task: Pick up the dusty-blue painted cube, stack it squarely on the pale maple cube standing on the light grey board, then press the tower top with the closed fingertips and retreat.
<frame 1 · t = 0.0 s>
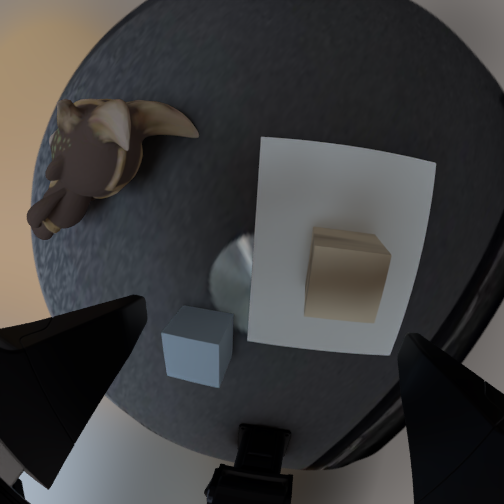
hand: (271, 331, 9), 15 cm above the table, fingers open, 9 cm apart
maple block: (339, 260, 22), resting on board
toy: (121, 160, 24), on the table
board: (339, 258, 23), on the table
blue block: (208, 330, 28), on the table
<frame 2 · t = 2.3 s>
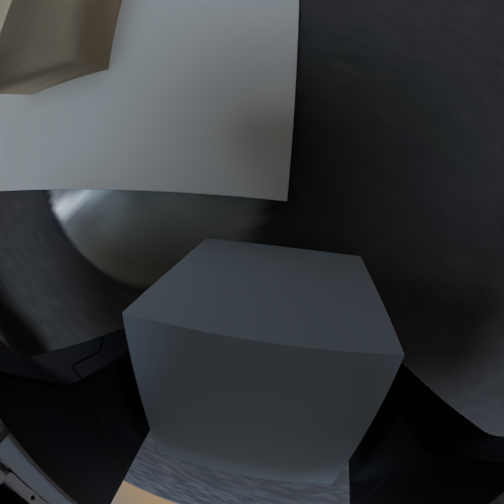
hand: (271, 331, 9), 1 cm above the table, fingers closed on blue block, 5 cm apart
maple block: (73, 30, 7), resting on board
board: (79, 32, 8), on the table
blue block: (275, 314, 10), on the table, touching gripper
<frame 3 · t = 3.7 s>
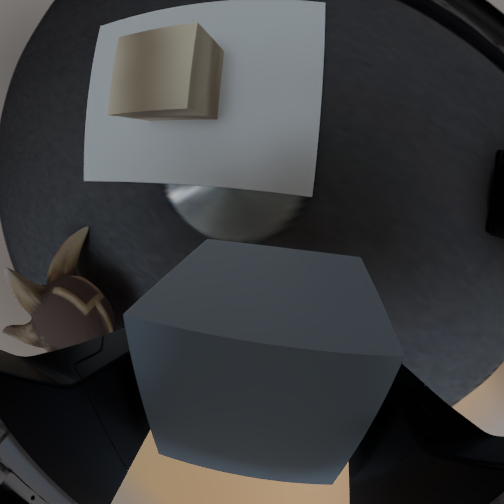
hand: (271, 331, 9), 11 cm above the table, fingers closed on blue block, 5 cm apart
maple block: (185, 85, 17), resting on board
toy: (120, 307, 25), on the table
board: (187, 86, 17), on the table
blue block: (275, 315, 10), point 10 cm above the table, touching gripper
when the fingers open (8 cm above the table, at t = 5.4 s): blue block drops 1 cm, resting on maple block.
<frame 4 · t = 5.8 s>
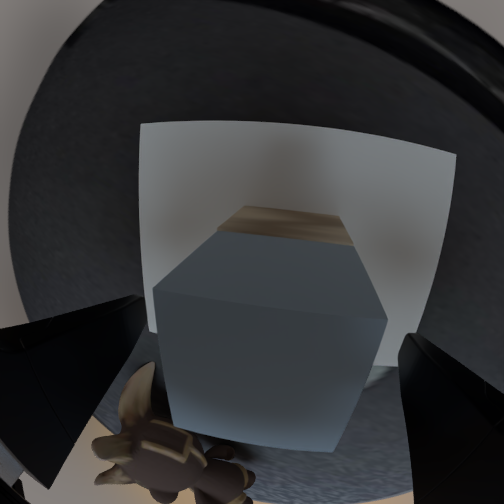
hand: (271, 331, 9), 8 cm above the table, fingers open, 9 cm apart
maple block: (286, 255, 16), resting on board, touching blue block
toy: (195, 423, 23), on the table
board: (287, 253, 16), on the table
blue block: (278, 300, 11), point 5 cm above the table, touching maple block
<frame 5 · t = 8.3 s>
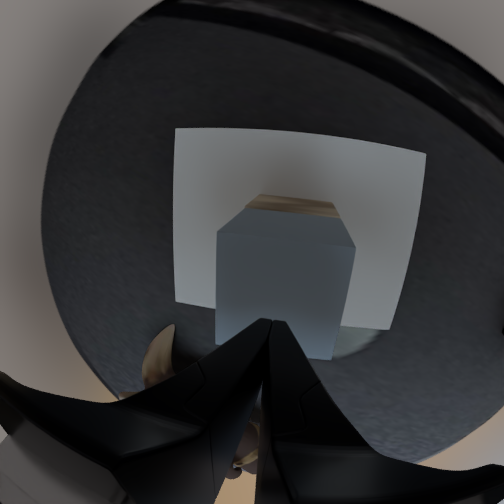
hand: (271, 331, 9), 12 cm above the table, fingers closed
maple block: (292, 233, 20), resting on board, touching blue block
toy: (211, 385, 27), on the table
board: (292, 231, 21), on the table
blue block: (288, 258, 16), point 5 cm above the table, touching maple block
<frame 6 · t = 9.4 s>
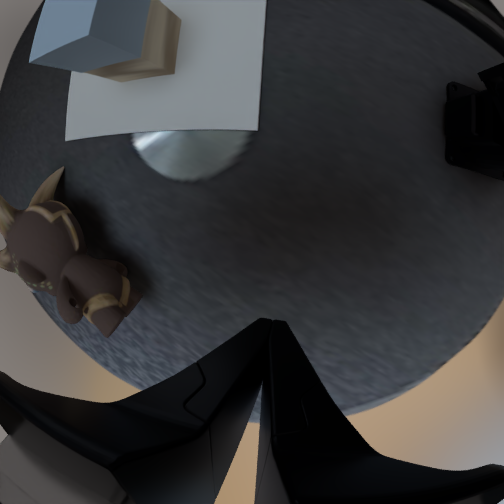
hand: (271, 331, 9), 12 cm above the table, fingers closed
maple block: (149, 50, 17), resting on board, touching blue block
toy: (94, 240, 24), on the table
board: (152, 51, 18), on the table
blue block: (114, 32, 13), point 5 cm above the table, touching maple block
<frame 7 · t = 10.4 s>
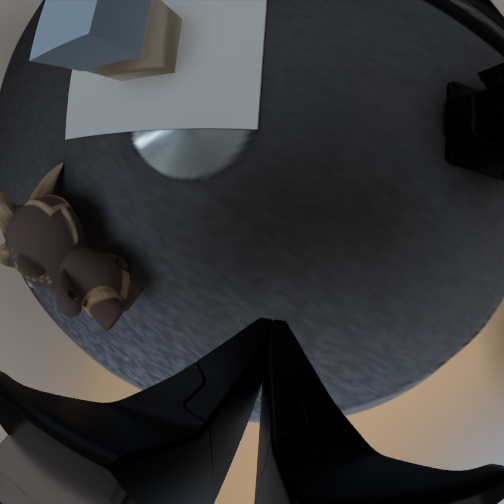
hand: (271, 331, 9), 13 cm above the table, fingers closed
maple block: (150, 49, 17), resting on board, touching blue block
toy: (94, 235, 24), on the table
board: (152, 50, 18), on the table
blue block: (114, 31, 13), point 5 cm above the table, touching maple block
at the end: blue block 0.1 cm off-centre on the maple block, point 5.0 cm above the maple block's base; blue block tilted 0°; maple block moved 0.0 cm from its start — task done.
